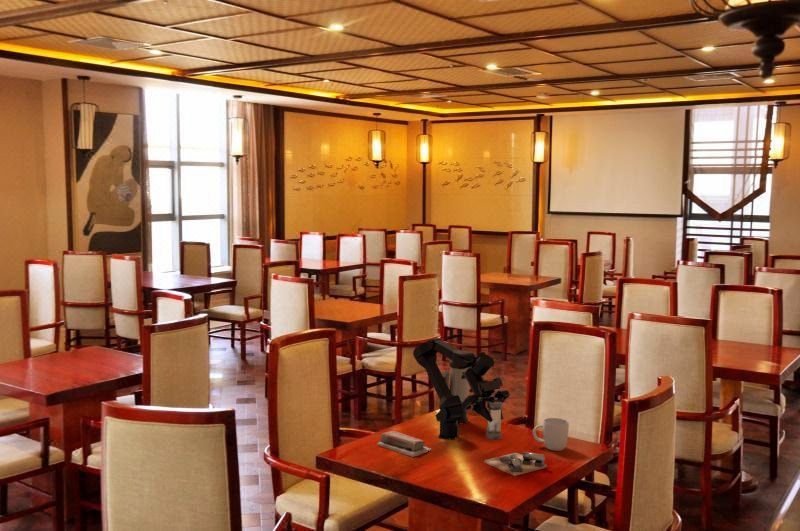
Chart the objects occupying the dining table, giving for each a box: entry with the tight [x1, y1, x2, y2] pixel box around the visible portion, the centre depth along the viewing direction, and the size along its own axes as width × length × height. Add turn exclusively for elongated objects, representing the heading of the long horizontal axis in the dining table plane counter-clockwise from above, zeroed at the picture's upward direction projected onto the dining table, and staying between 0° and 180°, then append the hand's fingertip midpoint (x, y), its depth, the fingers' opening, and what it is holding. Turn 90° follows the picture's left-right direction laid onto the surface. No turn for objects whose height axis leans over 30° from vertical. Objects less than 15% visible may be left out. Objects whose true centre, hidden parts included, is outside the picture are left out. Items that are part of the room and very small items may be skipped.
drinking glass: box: [485, 400, 503, 441], centre depth 269 cm, size 5×5×13 cm
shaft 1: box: [508, 453, 523, 472], centre depth 254 cm, size 7×4×4 cm, turn 3°
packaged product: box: [377, 430, 432, 458], centre depth 276 cm, size 18×5×10 cm
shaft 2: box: [522, 451, 546, 467], centre depth 259 cm, size 7×4×4 cm, turn 67°
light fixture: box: [442, 359, 469, 424], centre depth 310 cm, size 12×11×25 cm
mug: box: [532, 417, 570, 452], centre depth 279 cm, size 13×9×10 cm
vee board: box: [483, 452, 548, 477], centre depth 260 cm, size 15×15×1 cm
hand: (496, 420), depth 267 cm, fingers closed on drinking glass, 5 cm apart
